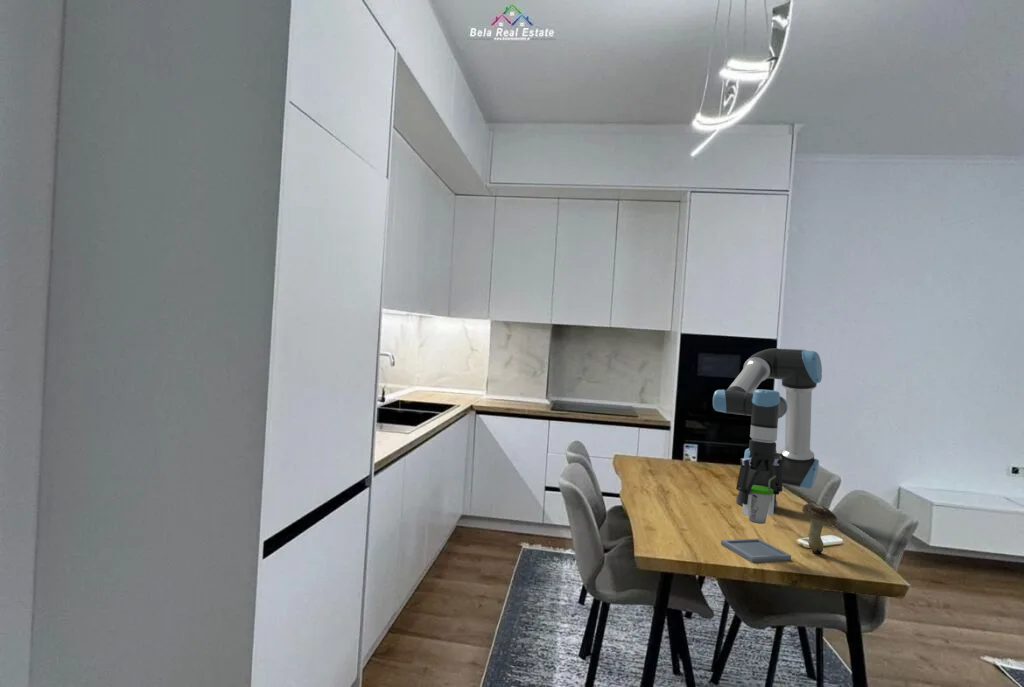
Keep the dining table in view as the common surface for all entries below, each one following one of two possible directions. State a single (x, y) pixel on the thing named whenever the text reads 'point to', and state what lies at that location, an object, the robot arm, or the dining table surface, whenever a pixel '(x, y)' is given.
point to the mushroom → (817, 524)
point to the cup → (760, 502)
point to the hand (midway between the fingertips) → (757, 514)
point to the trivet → (755, 550)
